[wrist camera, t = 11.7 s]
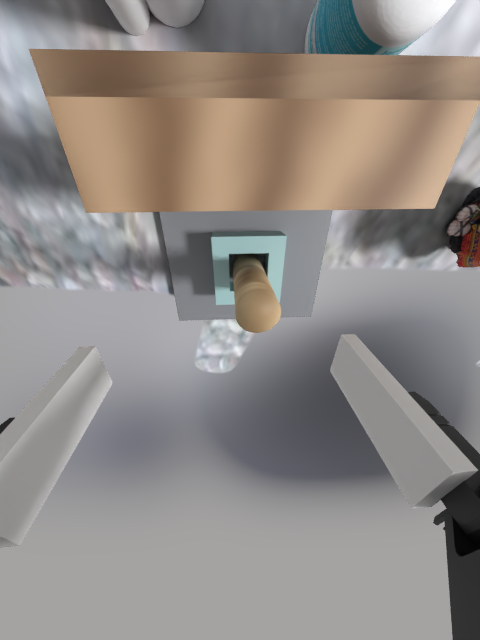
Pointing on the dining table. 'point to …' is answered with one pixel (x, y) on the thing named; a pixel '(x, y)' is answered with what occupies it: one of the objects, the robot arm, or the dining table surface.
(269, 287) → the oak peg
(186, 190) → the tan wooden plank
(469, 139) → the dining table surface
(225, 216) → the socket board
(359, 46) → the pill bottle
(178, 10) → the vase
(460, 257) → the figurine
